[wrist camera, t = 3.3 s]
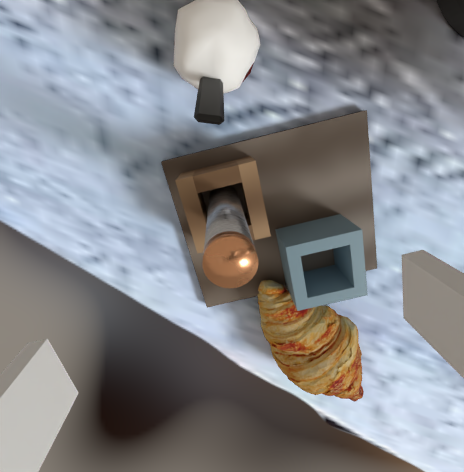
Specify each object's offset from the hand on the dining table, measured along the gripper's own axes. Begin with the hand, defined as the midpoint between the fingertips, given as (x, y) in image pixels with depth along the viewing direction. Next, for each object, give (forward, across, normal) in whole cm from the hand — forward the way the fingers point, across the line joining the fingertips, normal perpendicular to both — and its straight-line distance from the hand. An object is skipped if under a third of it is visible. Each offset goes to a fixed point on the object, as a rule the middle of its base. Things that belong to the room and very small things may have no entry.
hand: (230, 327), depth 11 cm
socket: (+21, +8, -8) cm, 24 cm away
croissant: (+21, +7, -19) cm, 29 cm away
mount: (+21, 0, 0) cm, 21 cm away
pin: (+20, 0, 0) cm, 20 cm away
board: (+21, +5, -4) cm, 22 cm away
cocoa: (+21, +2, +12) cm, 24 cm away
